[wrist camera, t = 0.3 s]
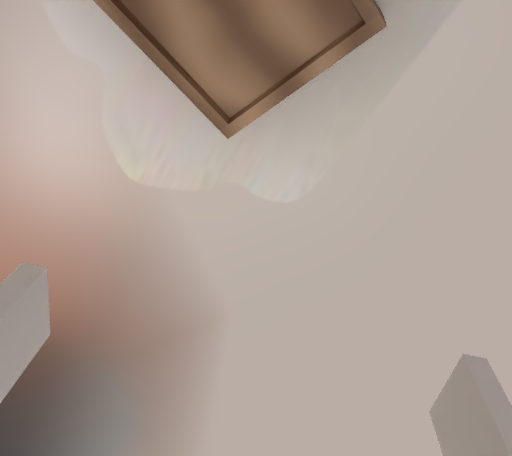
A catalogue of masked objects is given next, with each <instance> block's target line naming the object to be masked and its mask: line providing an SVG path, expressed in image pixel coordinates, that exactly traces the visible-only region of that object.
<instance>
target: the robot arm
mask: <svg viewBox="0 0 512 456" xmlns="http://www.w3.org/2000/svg"><path fill="white" fill-rule="evenodd" d="M48 297H49V295H48V273H47V267H44V266H39V265H34V264H29V263H24V262H22V263H21V264H20V265H19V266H18V267H17V268H16V269H15V270H14V271H13V272H12V273H11V274H10V275H9V276H8V277H7V278H6V279H5V280H4V281H3V282H2V283H1V284H0V403H1V401H2V400H3V398H4V397H5V396H6V395H7V393H8V392H9V390H10V389H11V388H12V386H13V385H14V384H15V382H16V381H17V379H18V378H19V377H20V375H21V374H22V372H23V371H24V369H25V368H26V367H27V366H28V364H29V363H30V361H31V360H32V359H33V357H34V356H35V355H36V353H37V352H38V350H39V349H40V348H41V346H42V345H43V343H44V342H45V341H46V339H47V338H48V337H49V335H50V320H49V298H48ZM429 412H430V416H431V419H432V422H433V425H434V428H435V431H436V435H437V438H438V441H439V444H440V447H441V450H442V453H443V456H512V406H511V404H510V402H509V400H508V398H507V396H506V394H505V392H504V391H503V389H502V387H501V385H500V383H499V381H498V379H497V377H496V375H495V373H494V372H493V370H492V368H491V366H490V364H489V362H488V360H487V359H485V358H480V357H475V356H470V355H466V354H463V355H462V357H461V358H460V360H459V362H458V364H457V365H456V367H455V369H454V370H453V372H452V374H451V376H450V377H449V379H448V381H447V382H446V384H445V386H444V388H443V389H442V391H441V393H440V394H439V396H438V398H437V399H436V401H435V403H434V405H433V406H432V408H431V410H430V411H429Z"/></svg>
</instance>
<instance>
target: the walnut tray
mask: <svg viewBox="0 0 512 456" xmlns="http://www.w3.org/2000/svg"><path fill="white" fill-rule="evenodd" d="M94 2H95V3H96V4H97V5H98V6H99V7H100V8H101V9H102V10H103V11H104V12H105V13H106V14H107V15H108V16H109V17H110V18H111V19H112V20H113V21H114V22H115V23H116V24H117V25H118V26H119V27H120V28H121V29H122V30H123V31H124V32H125V33H126V34H127V36H128V37H129V38H130V39H131V40H132V41H133V42H134V43H135V44H136V45H137V46H138V47H139V48H140V49H141V50H142V51H143V52H144V53H145V54H146V55H147V56H148V57H149V58H150V59H151V60H152V61H153V62H154V63H155V64H156V65H157V66H158V67H159V68H160V70H161V71H162V72H163V73H164V74H165V75H166V76H167V77H168V78H169V79H170V80H171V81H172V82H173V83H174V84H175V85H176V86H177V87H178V88H179V89H180V90H181V91H182V92H183V93H184V94H185V95H186V96H187V97H188V98H189V99H190V100H191V101H192V102H193V104H194V105H195V106H196V107H197V108H198V109H199V110H200V111H201V112H202V113H203V114H204V115H205V116H206V117H207V118H208V119H209V120H210V121H211V122H212V123H213V124H214V125H215V126H216V127H217V128H218V129H219V130H220V131H221V132H222V133H223V134H224V135H225V136H226V138H227V139H228V138H230V137H231V136H233V135H234V134H235V133H237V132H238V131H240V130H241V129H242V128H244V127H245V126H247V125H248V124H249V123H251V122H252V121H254V120H255V119H256V118H258V117H259V116H261V115H262V114H264V113H265V112H266V111H268V110H269V109H271V108H272V107H273V106H275V105H276V104H278V103H279V102H280V101H282V100H283V99H285V98H286V97H287V96H289V95H290V94H292V93H293V92H295V91H296V90H297V89H299V88H300V87H302V86H303V85H304V84H306V83H307V82H309V81H310V80H311V79H313V78H314V77H316V76H317V75H318V74H320V73H321V72H323V71H324V70H326V69H327V68H328V67H330V66H331V65H333V64H334V63H335V62H337V61H338V60H340V59H341V58H342V57H344V56H345V55H347V54H348V53H349V52H351V51H352V50H354V49H355V48H357V47H358V46H359V45H361V44H362V43H364V42H365V41H366V40H368V39H369V38H371V37H372V36H373V35H375V34H376V33H378V32H379V31H380V30H382V29H383V28H385V27H386V22H385V19H384V16H383V14H382V12H381V11H380V9H379V7H378V6H377V4H376V2H375V1H374V0H94Z"/></svg>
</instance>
